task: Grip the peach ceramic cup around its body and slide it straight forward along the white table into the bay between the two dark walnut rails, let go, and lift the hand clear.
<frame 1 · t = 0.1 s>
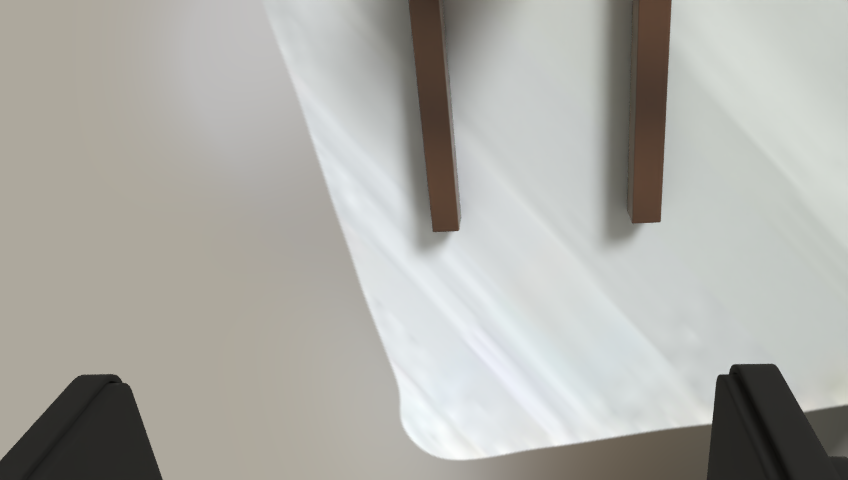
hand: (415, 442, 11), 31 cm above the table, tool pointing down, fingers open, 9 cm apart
guide rails: (538, 84, 39), on the table
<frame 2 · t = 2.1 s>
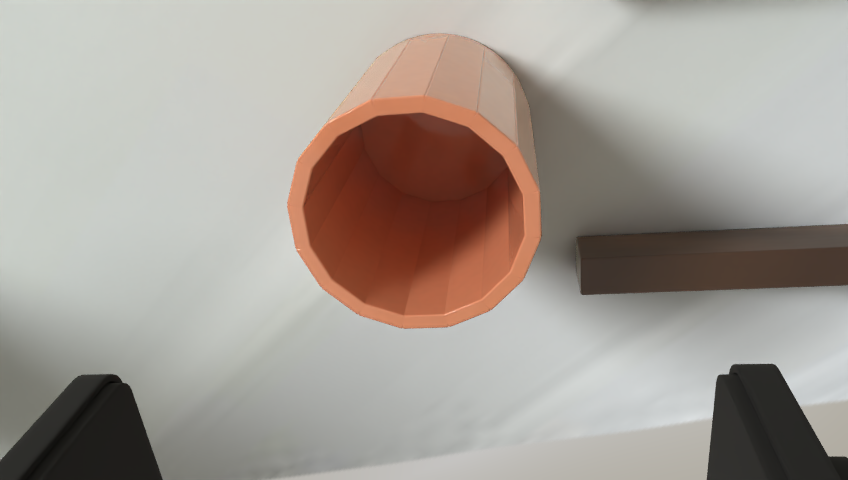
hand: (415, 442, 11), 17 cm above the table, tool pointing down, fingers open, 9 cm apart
peach cup: (440, 123, 27), on the table
guide rails: (804, 98, 25), on the table
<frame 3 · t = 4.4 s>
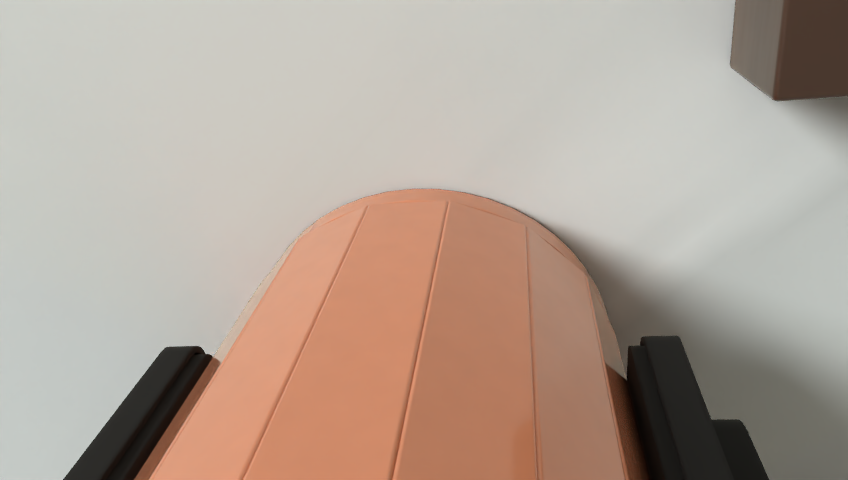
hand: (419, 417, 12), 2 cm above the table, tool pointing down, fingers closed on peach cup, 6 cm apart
peach cup: (431, 350, 13), on the table, touching gripper
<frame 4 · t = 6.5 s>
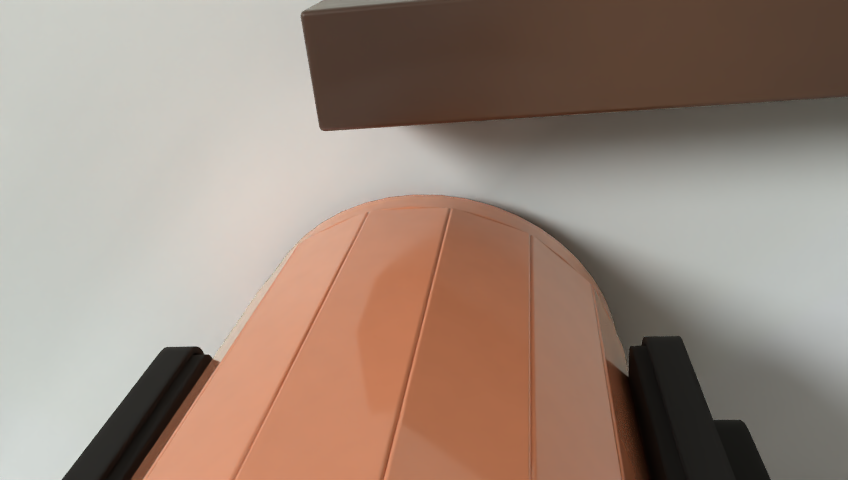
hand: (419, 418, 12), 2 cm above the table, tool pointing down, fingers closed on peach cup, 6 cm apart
peach cup: (433, 358, 13), on the table, touching gripper
guide rails: (831, 343, 12), on the table
when the fingers open (2 cm above the table, at t = 9.0 s): peach cup stays where it is, on the table.
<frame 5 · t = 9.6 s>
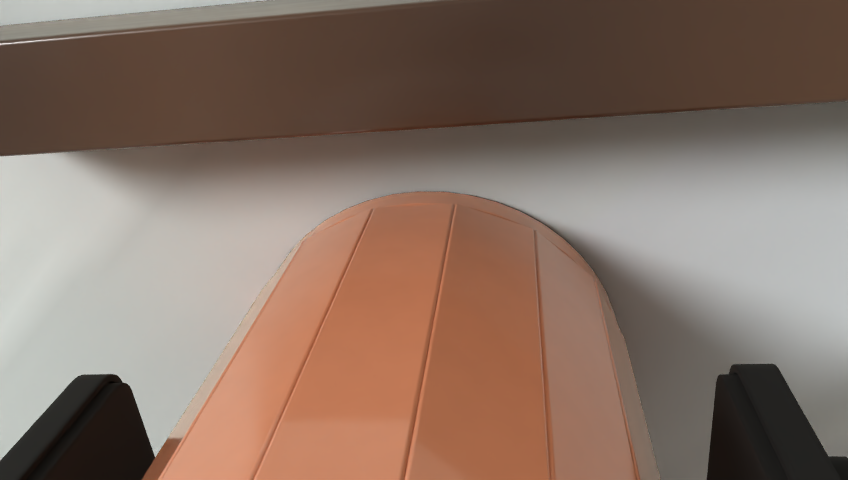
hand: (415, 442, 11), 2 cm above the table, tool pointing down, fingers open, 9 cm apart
peach cup: (436, 355, 13), on the table
guide rails: (485, 355, 13), on the table
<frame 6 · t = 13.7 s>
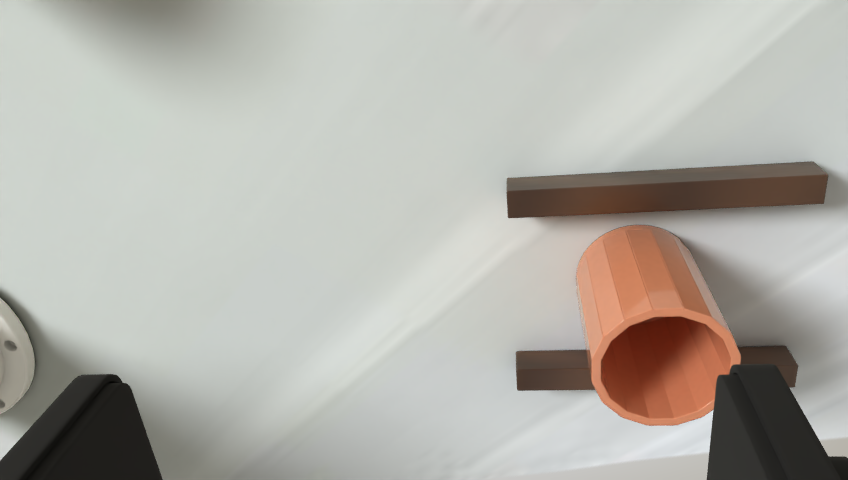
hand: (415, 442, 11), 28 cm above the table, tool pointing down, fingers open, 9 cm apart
peach cup: (634, 276, 41), on the table
guide rails: (650, 276, 41), on the table
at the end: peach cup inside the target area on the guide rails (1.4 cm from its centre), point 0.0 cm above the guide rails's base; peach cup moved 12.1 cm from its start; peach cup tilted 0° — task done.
